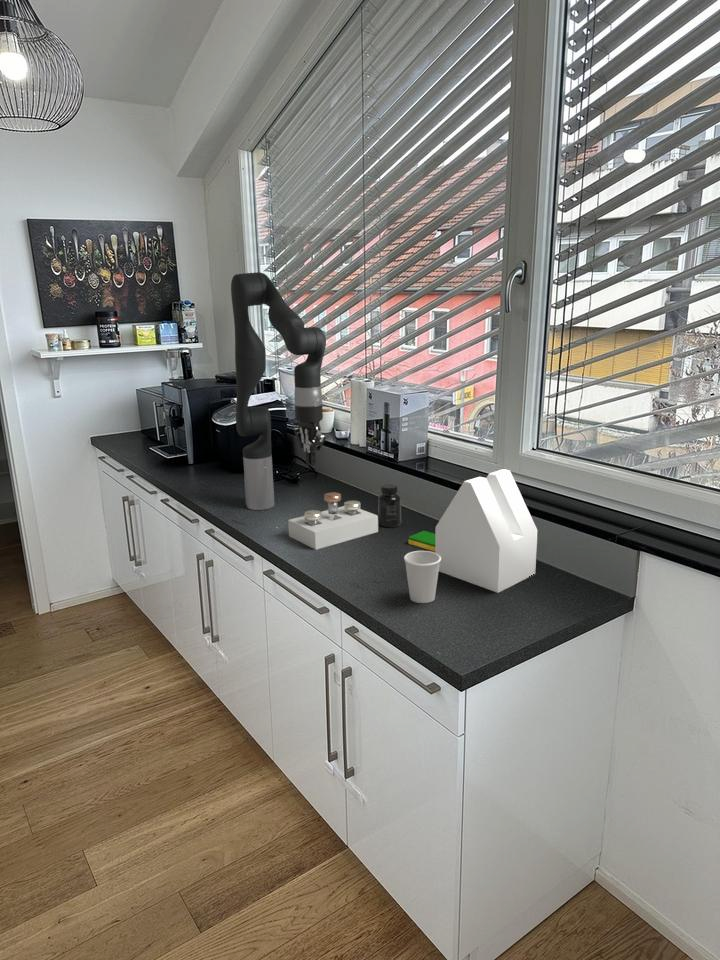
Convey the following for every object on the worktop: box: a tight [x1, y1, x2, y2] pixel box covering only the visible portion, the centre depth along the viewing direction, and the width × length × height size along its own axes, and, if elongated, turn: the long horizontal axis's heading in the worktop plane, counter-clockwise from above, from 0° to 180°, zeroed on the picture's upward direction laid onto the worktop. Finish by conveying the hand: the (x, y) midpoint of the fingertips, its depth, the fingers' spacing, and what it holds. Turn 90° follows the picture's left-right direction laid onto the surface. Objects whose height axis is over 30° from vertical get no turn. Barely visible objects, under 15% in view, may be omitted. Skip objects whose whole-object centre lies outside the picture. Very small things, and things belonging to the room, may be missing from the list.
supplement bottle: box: [377, 483, 402, 528], centre depth 203 cm, size 7×7×12 cm
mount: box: [287, 505, 379, 550], centre depth 196 cm, size 14×22×5 cm, turn 127°
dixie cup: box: [403, 550, 441, 604], centre depth 153 cm, size 8×8×10 cm
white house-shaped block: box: [434, 468, 538, 594], centre depth 165 cm, size 19×15×25 cm
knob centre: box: [323, 491, 342, 514], centre depth 194 cm, size 5×5×6 cm
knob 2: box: [343, 500, 362, 516], centre depth 200 cm, size 5×5×6 cm
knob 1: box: [303, 509, 322, 526], centre depth 191 cm, size 5×5×6 cm
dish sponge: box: [408, 530, 436, 553], centre depth 186 cm, size 7×14×2 cm, turn 47°
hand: (311, 464), depth 187 cm, fingers closed
